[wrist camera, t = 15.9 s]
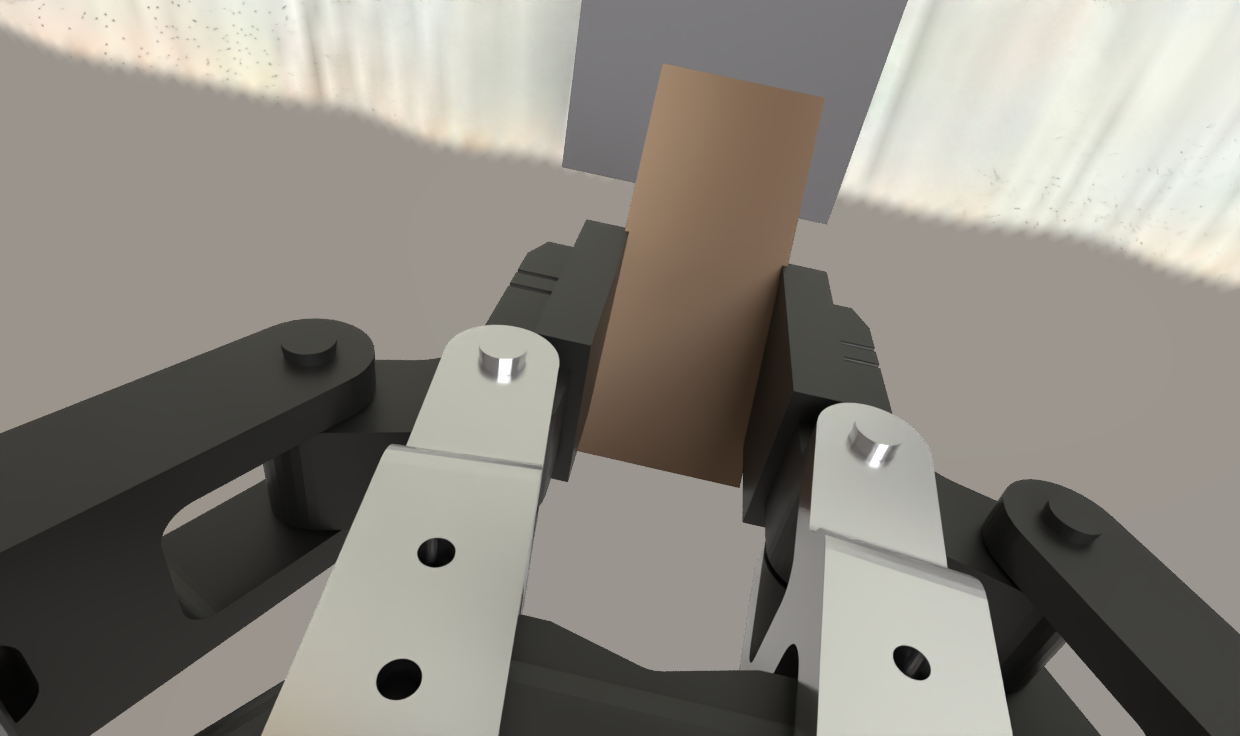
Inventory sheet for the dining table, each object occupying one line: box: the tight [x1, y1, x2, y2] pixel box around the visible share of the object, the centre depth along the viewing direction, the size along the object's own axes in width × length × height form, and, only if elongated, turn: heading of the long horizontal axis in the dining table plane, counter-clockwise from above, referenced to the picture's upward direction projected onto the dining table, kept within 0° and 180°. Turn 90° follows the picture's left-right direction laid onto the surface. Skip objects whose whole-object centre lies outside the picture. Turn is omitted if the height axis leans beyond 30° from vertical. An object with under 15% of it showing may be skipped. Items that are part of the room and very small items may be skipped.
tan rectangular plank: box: [577, 63, 825, 488], centre depth 19 cm, size 2×6×16 cm
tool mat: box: [562, 0, 908, 224], centre depth 24 cm, size 10×8×1 cm
